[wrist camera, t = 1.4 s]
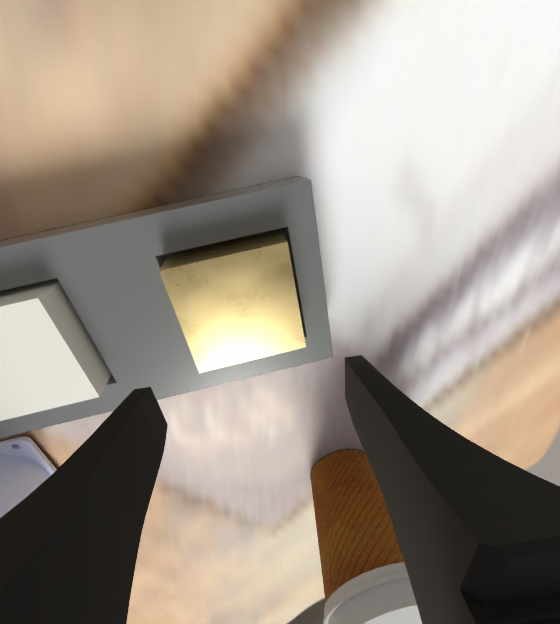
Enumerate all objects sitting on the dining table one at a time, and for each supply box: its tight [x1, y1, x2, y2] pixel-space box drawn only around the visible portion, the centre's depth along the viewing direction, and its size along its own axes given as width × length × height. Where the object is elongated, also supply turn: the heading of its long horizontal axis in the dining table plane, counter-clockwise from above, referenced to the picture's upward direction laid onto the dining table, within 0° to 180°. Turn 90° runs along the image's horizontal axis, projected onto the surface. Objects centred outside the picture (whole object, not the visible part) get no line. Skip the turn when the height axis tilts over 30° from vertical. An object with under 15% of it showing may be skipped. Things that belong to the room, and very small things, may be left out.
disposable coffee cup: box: [311, 449, 422, 624], centre depth 26 cm, size 10×10×12 cm
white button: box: [0, 278, 112, 421], centre depth 17 cm, size 6×6×3 cm
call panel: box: [0, 176, 333, 438], centre depth 19 cm, size 22×11×3 cm, turn 100°
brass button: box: [159, 229, 306, 373], centre depth 18 cm, size 6×6×3 cm
